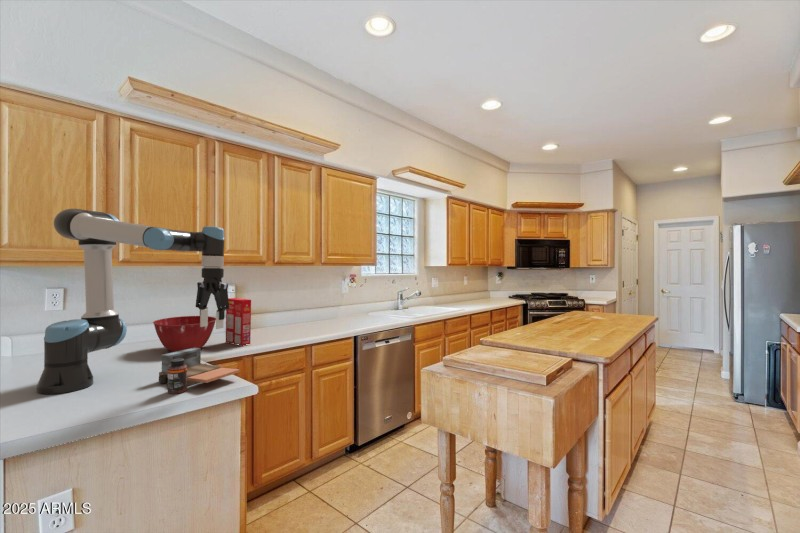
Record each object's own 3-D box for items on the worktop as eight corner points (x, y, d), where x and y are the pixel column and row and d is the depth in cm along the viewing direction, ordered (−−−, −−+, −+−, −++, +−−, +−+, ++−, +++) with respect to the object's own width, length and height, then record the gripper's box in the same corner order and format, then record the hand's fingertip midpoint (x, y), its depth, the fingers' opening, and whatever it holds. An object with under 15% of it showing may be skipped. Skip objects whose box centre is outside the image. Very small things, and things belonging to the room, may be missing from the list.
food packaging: (250, 344, 209) (251, 299, 208) (241, 346, 204) (242, 300, 204) (234, 341, 216) (234, 297, 216) (225, 342, 212) (226, 298, 212)
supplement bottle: (183, 387, 137) (183, 356, 137) (189, 391, 133) (190, 359, 133) (164, 391, 133) (165, 359, 133) (171, 395, 129) (171, 362, 129)
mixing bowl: (188, 358, 177) (189, 325, 177) (137, 353, 183) (138, 322, 183) (227, 345, 205) (227, 317, 205) (182, 342, 211) (182, 314, 211)
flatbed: (180, 388, 136) (180, 360, 136) (155, 382, 142) (155, 356, 142) (223, 374, 153) (223, 350, 153) (199, 370, 159) (199, 346, 159)
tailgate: (187, 382, 138) (206, 384, 134) (187, 377, 138) (206, 380, 134) (221, 371, 151) (240, 373, 147) (221, 367, 151) (239, 369, 147)
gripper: (240, 268, 142) (239, 328, 142) (202, 266, 150) (201, 323, 151) (224, 268, 135) (223, 331, 135) (185, 266, 143) (184, 326, 144)
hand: (211, 327), depth 143 cm, fingers open, 8 cm apart
